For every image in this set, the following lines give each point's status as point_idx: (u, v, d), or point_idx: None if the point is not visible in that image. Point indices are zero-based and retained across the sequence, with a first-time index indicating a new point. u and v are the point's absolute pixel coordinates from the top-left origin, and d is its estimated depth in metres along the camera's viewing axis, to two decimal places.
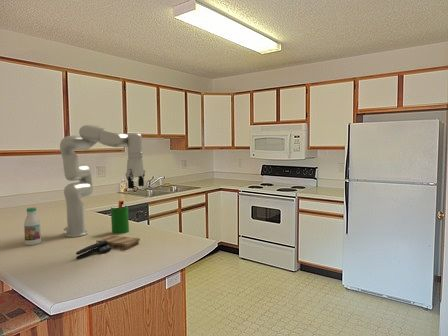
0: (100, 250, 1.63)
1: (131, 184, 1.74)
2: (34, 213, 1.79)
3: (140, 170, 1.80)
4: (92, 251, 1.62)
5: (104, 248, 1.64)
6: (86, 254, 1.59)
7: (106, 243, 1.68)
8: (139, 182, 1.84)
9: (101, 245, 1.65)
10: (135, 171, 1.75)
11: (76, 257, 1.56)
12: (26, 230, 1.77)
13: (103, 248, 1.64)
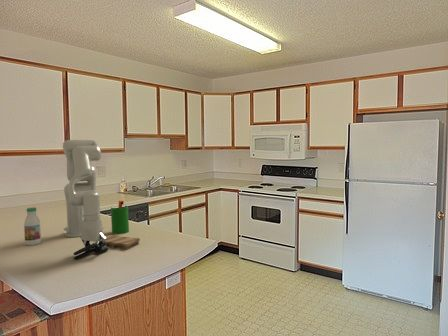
0: None
1: None
2: (34, 213, 1.79)
3: None
4: (89, 251, 1.61)
5: None
6: (83, 254, 1.58)
7: (103, 243, 1.67)
8: None
9: None
10: None
11: (74, 258, 1.55)
12: (26, 230, 1.77)
13: None
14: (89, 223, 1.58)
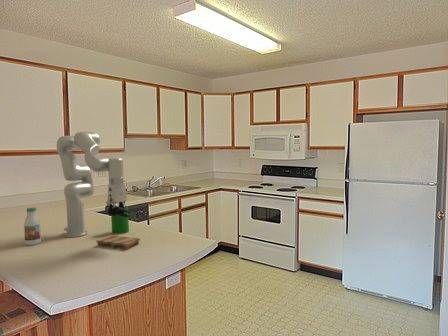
0: (117, 211, 1.78)
1: None
2: (34, 213, 1.79)
3: None
4: None
5: None
6: None
7: None
8: None
9: None
10: None
11: (128, 216, 1.70)
12: (26, 230, 1.77)
13: None
14: (121, 185, 1.75)
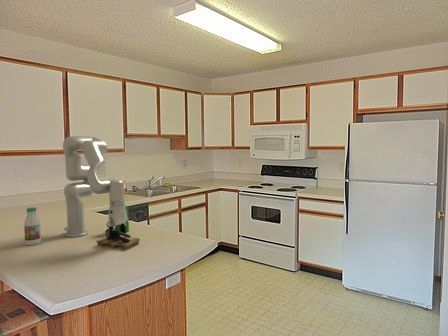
0: (118, 234, 1.79)
1: None
2: (34, 213, 1.79)
3: None
4: None
5: None
6: None
7: None
8: None
9: None
10: None
11: (128, 240, 1.71)
12: (26, 230, 1.77)
13: (116, 233, 1.80)
14: (122, 207, 1.76)
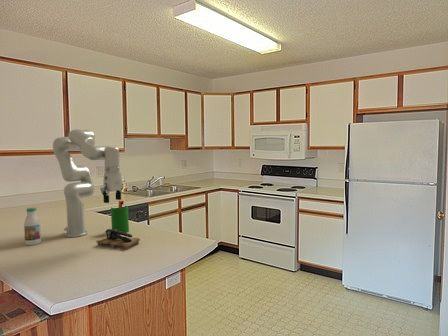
0: (118, 234, 1.79)
1: None
2: (34, 213, 1.79)
3: None
4: None
5: None
6: None
7: None
8: None
9: None
10: None
11: (130, 240, 1.72)
12: (26, 230, 1.77)
13: (116, 233, 1.80)
14: (117, 174, 1.76)
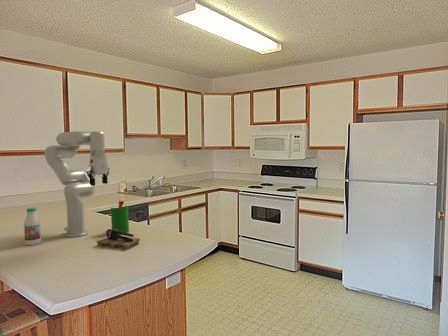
0: (119, 234, 1.79)
1: None
2: (34, 213, 1.79)
3: None
4: None
5: None
6: None
7: None
8: None
9: None
10: None
11: (132, 239, 1.73)
12: (26, 230, 1.77)
13: (116, 233, 1.80)
14: (102, 157, 1.81)
